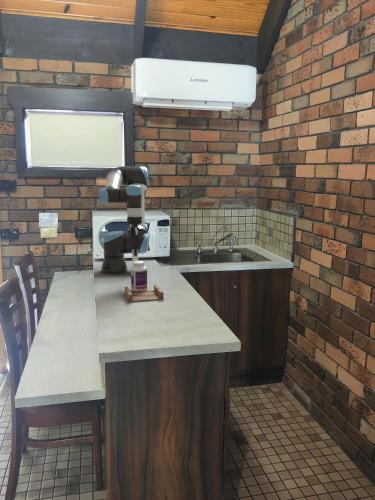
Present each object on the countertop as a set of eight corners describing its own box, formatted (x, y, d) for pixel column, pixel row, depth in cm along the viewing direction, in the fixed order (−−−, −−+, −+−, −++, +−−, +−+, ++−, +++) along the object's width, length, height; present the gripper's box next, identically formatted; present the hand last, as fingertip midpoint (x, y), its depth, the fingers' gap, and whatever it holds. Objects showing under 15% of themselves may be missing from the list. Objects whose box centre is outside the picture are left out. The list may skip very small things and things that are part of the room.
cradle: (124, 293, 206) (124, 286, 206) (156, 291, 211) (156, 284, 210) (129, 302, 193) (129, 295, 192) (163, 299, 198) (163, 292, 197)
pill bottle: (150, 288, 215) (150, 261, 212) (142, 293, 208) (141, 264, 205) (136, 286, 218) (136, 259, 215) (128, 291, 211) (127, 262, 208)
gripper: (125, 214, 221) (126, 259, 225) (129, 217, 208) (130, 264, 213) (139, 214, 223) (140, 258, 227) (144, 217, 210) (144, 263, 215)
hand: (135, 261), depth 220 cm, fingers closed
